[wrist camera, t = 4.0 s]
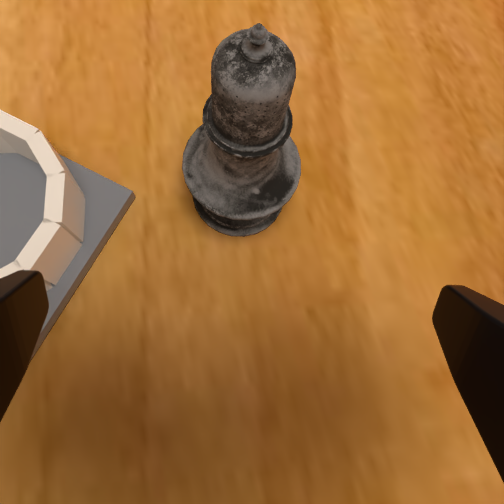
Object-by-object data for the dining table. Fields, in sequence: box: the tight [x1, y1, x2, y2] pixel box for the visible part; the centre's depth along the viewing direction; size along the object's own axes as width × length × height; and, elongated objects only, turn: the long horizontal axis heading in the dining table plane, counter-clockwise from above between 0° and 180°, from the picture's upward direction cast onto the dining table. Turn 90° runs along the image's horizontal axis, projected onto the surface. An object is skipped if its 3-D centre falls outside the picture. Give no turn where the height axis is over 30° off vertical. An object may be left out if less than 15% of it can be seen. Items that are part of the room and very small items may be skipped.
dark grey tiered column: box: [182, 23, 301, 237], centre depth 17 cm, size 6×6×12 cm
